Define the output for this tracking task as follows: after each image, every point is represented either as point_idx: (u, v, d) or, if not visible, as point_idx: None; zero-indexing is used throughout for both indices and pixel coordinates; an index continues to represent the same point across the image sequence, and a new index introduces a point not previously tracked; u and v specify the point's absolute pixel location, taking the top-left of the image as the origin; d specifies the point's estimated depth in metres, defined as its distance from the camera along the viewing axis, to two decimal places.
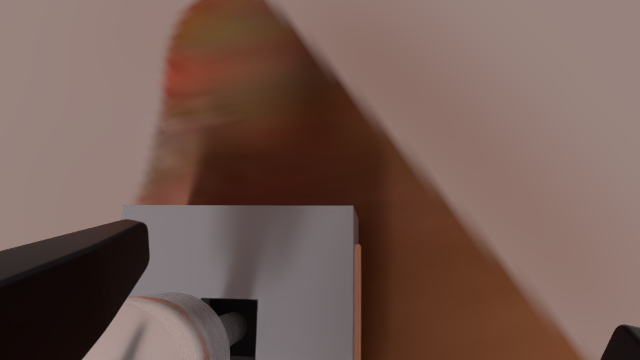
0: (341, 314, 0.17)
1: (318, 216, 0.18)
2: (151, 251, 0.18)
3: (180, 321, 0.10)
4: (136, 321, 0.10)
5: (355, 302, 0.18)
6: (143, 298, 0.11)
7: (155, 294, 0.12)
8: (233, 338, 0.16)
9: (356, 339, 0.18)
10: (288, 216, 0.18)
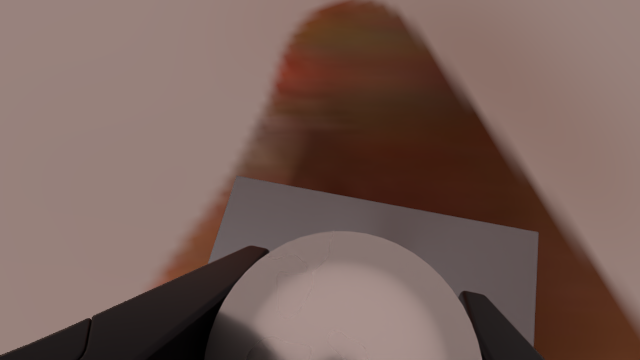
0: None
1: (490, 237, 0.13)
2: (261, 238, 0.14)
3: None
4: (401, 269, 0.06)
5: None
6: None
7: None
8: None
9: None
10: (449, 229, 0.14)
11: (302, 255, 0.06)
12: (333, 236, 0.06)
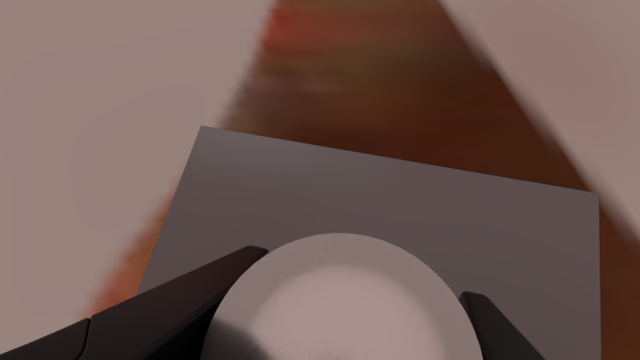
0: None
1: (534, 200, 0.10)
2: (230, 203, 0.11)
3: None
4: (401, 272, 0.06)
5: None
6: None
7: None
8: None
9: None
10: (479, 190, 0.10)
11: (299, 258, 0.06)
12: (331, 238, 0.06)
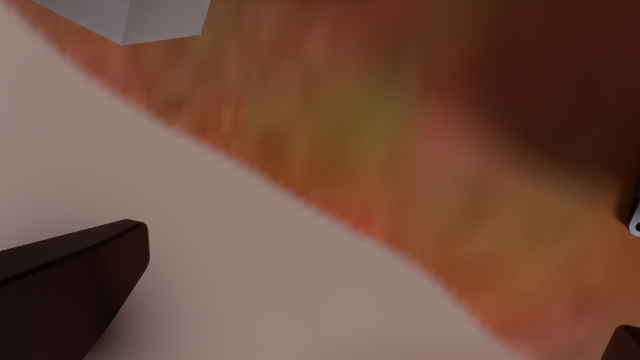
0: None
1: None
2: None
3: None
4: None
5: None
6: None
7: None
8: None
9: None
10: None
11: None
12: None
